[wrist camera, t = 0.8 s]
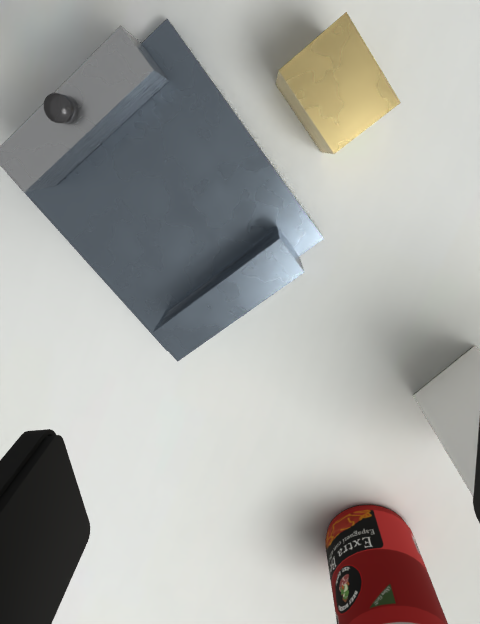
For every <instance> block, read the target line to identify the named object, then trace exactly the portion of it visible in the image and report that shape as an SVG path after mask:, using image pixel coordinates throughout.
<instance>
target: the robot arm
mask: <svg viewBox="0 0 480 624" xmlns="http://www.w3.org/2000/svg"><path fill="white" fill-rule="evenodd" d="M473 505H474V510H475V514H476V516H477V519H478V521H479V522H480V418H479V431H478V444H477V457H476V470H475V483H474V496H473ZM89 535H90V523H89V519H88V516H87V513H86V510H85V507H84V504H83V500H82V497H81V494H80V491H79V488H78V485H77V482H76V478H75V475H74V472H73V469H72V466H71V463H70V459H69V456H68V453H67V450H66V447H65V444H64V441H63V438H62V437H61V436H60V435H56V433H55V432H54V431H53V430H50V429H49V430H36V431H27V432H24V433H23V434H22V435H21V436H20V437H19V439H18V440H17V441H16V442H15V443H14V445H13V446H12V447H11V448H10V450H9V451H8V452H7V453H6V454H5V456H4V457H3V458H2V459H1V460H0V624H51V623H52V621H53V619H54V616H55V614H56V612H57V610H58V607H59V605H60V603H61V601H62V598H63V596H64V594H65V592H66V589H67V587H68V585H69V583H70V580H71V578H72V576H73V573H74V571H75V569H76V567H77V564H78V562H79V560H80V558H81V555H82V553H83V551H84V549H85V546H86V544H87V542H88V539H89Z"/></svg>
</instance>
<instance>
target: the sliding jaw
mask: <svg viewBox="0 0 480 624" xmlns="http://www.w3.org/2000/svg"><path fill="white" fill-rule="evenodd" d="M168 81H169V80H168V78H167V77H166V76H165V74H164V73H163V72H162V70H161V69H160V68H159V66H158V65H157V64H156V62H155V61H154V60H153V58H152V57H151V56H150V54H149V53H148V51H147V50H146V49H145V47H144V46H143V45H142V43H141V42H139V41H138V40H137V39H136V38H135V37H133V36H132V35H131V34H130V33H129V32H127V31H126V30H125V29H124V28H123V27H122V26H120V27H119V28H118V29H117V30H116V31H115V32H114V33H113V34H112V35H111V36H110V37H109V38H108V39H107V40H106V41H105V42H104V43H103V44H102V45H101V46H100V47H99V48H98V49H97V50H96V51H95V52H94V53H93V54H92V55H91V56H90V57H89V58H88V59H87V60H86V61H85V62H84V63H83V64H82V65H81V66H80V67H79V68H78V69H77V70H76V71H75V72H74V73H73V74H72V75H71V76H70V77H69V78H68V79H67V80H66V81H65V82H64V83H63V84H62V85H61V86H60V87H59V88H58V89H57V90H56V91H55V92H54V93H52V94H50V95H48V96H47V97H46V99H45V101H44V103H43V104H42V105H41V106H40V107H39V108H38V109H37V110H36V111H35V112H34V113H33V114H32V115H31V116H30V117H29V118H28V119H27V120H26V121H25V122H24V123H23V124H22V125H21V126H20V127H19V128H18V129H17V130H16V131H15V132H14V133H13V134H12V135H11V136H10V137H9V138H8V139H7V140H6V141H5V142H4V143H3V144H2V145H1V146H0V166H1V167H2V168H3V169H4V170H5V171H6V172H7V173H8V175H9V176H10V177H11V178H12V179H13V180H14V181H15V182H16V183H17V185H18V186H19V187H20V188H21V189H22V190H23V191H24V192H28V191H33V190H38V189H43V188H48V187H53V186H56V185H57V184H58V183H59V182H60V181H61V180H62V179H63V178H65V177H66V176H67V175H68V174H69V173H70V172H71V171H72V170H73V169H74V168H75V167H76V166H77V165H79V164H80V163H81V162H82V161H83V160H84V159H85V158H86V157H87V156H88V155H89V154H90V153H92V152H93V151H94V150H95V149H96V148H97V147H98V146H99V145H100V144H101V143H102V142H103V141H104V140H106V139H107V138H108V137H109V136H110V135H111V134H112V133H113V132H114V131H115V130H116V129H117V128H119V127H120V126H121V125H122V124H123V123H124V122H125V121H126V120H127V119H128V118H129V117H130V116H132V115H133V114H134V113H135V112H136V111H137V110H138V109H139V108H140V107H141V106H142V105H143V104H144V103H146V102H147V101H148V100H149V99H150V98H151V97H152V96H153V95H154V94H155V93H156V92H157V91H159V90H160V89H161V88H162V87H163V86H164V85H165V84H166V83H167V82H168Z"/></svg>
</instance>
